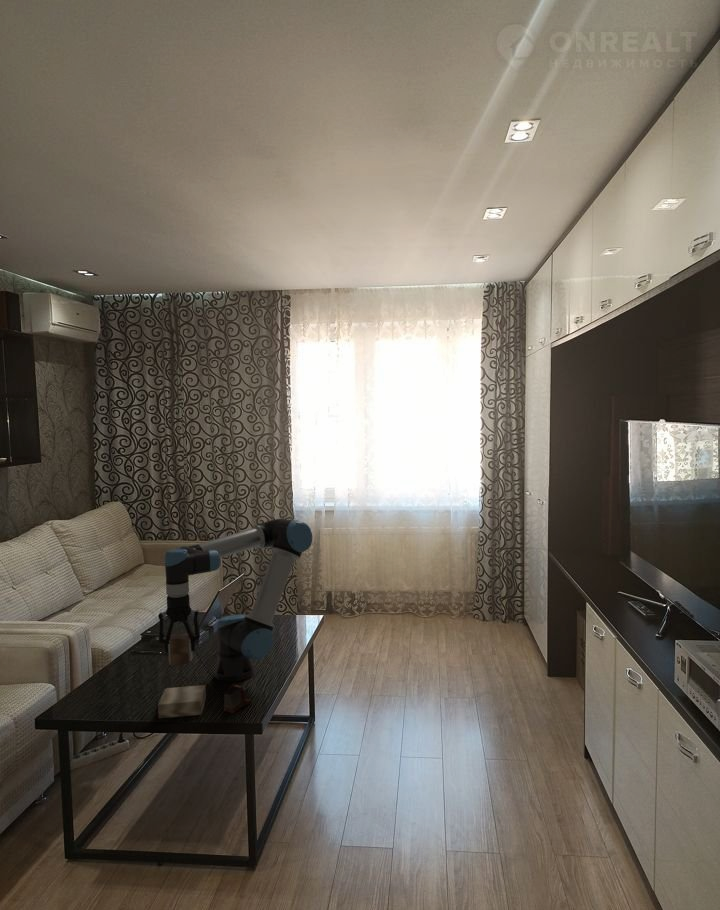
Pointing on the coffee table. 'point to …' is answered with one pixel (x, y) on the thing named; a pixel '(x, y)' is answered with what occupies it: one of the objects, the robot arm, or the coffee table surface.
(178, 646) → the walnut block
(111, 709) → the coffee table surface
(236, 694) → the electronic device
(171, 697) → the oak block
